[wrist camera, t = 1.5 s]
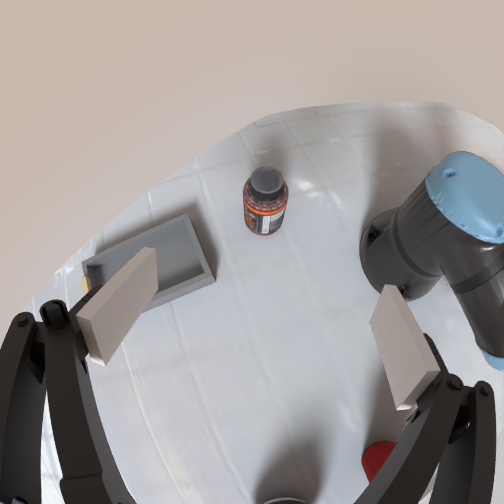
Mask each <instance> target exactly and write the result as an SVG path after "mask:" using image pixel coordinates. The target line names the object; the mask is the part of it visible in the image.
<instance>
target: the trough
mask: <svg viewBox="0 0 504 504" xmlns="http://www.w3.org/2000/svg"><path fill="white" fill-rule="evenodd" d="M143 247H148V248H154V249H156V263H157V279H158V290H157V292H156V293H155V294H154V296H153V297H152V299H151V300H150V301H149V303H148V304H147V306H146V307H145V308H144V310H143V311H142V313H143V312H145V311H148V310H150V309H152V308H155V307H157V306H160V305H162V304H165V303H167V302H169V301H172V300H174V299H177V298H179V297H181V296H184V295H186V294H188V293H191V292H193V291H196V290H198V289H200V288H203V287H205V286H207V285H210V284H212V283H214V282H216V281H215V279H214V276H213V274H212V271H211V269H210V267H209V264H208V262H207V259H206V257H205V254H204V252H203V249H202V247H201V244H200V242H199V239H198V237H197V234H196V232H195V229H194V226H193V224H192V222H191V219H190V217H189V215H188V213H185V214H183V215H181V216H178V217H176V218H174V219H171V220H169V221H167V222H165V223H162V224H160V225H158V226H156V227H153V228H151V229H149V230H147V231H145V232H142V233H140V234H138V235H136V236H134V237H132V238H129V239H127V240H125V241H123V242H121V243H119V244H117V245H115V246H113V247H111V248H109V249H107V250H105V251H103V252H101V253H99V254H97V255H95V256H93V257H91V258H89V259H87V260H85V261H83V262H82V267H83V272H84V277H83V278H81V284H82V289H83V294H84V296H86V294H87V293H88V292H89V291H90V290H91V289H92V288H93V287H95V286H97V285H99V284H102V285H105V284H106V283H107V282H108V281H109V280H110V279H111V278H112V277H113V276H114V275H115V274H116V273H117V272H118V271H119V270H120V269H121V268H122V267H123V266H124V265H125V264H126V263H127V262H128V261H129V260H131V259H132V258H133V257H134V256H135V255H136V254H137V253H138V252H139V251H140V250H141V249H142V248H143Z"/></svg>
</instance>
